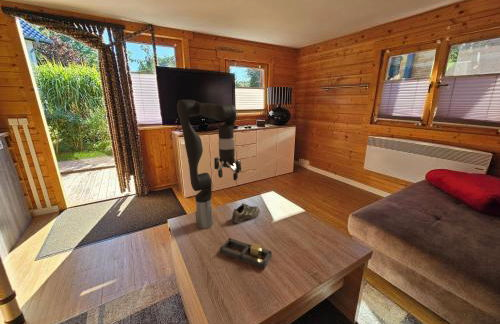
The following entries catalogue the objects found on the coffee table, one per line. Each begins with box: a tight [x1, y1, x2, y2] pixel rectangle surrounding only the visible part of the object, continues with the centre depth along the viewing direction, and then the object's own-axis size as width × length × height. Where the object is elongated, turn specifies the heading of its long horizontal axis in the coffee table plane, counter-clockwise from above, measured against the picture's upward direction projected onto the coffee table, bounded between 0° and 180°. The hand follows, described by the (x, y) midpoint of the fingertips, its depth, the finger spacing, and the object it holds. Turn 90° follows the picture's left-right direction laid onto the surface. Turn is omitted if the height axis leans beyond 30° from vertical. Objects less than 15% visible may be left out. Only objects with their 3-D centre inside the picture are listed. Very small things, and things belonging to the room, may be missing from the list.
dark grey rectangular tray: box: [219, 238, 273, 270], centre depth 105 cm, size 24×9×3 cm, turn 63°
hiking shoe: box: [231, 202, 261, 224], centre depth 138 cm, size 9×21×12 cm, turn 128°
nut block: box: [249, 242, 263, 260], centre depth 102 cm, size 4×4×7 cm
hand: (228, 178), depth 107 cm, fingers open, 8 cm apart
